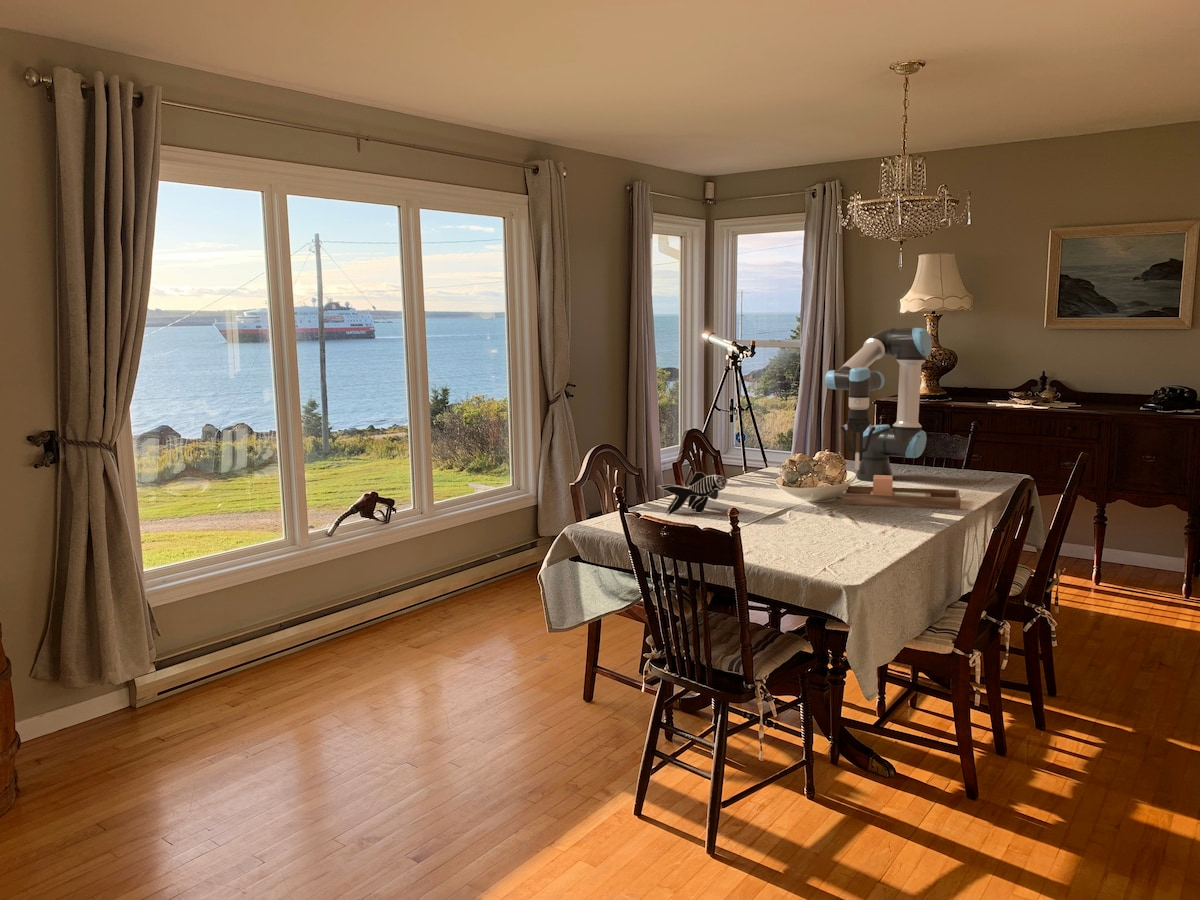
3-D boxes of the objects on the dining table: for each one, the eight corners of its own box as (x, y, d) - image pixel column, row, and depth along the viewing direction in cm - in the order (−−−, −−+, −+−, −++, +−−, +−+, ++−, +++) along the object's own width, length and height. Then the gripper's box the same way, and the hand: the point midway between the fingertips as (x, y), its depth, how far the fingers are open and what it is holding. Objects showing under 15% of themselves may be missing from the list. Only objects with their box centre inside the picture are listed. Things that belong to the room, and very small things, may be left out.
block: (873, 492, 350) (873, 475, 349) (892, 493, 348) (892, 475, 347) (872, 496, 344) (873, 478, 343) (892, 497, 342) (892, 479, 340)
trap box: (844, 495, 359) (845, 485, 358) (958, 500, 345) (958, 489, 344) (842, 504, 344) (842, 493, 343) (960, 509, 330) (960, 498, 330)
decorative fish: (739, 505, 332) (731, 467, 329) (672, 525, 327) (663, 486, 324) (724, 497, 347) (717, 460, 344) (660, 516, 342) (651, 478, 339)
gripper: (840, 409, 342) (838, 470, 346) (876, 409, 338) (874, 471, 342) (841, 407, 349) (840, 466, 353) (876, 407, 345) (875, 468, 349)
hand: (857, 469), depth 347 cm, fingers closed
